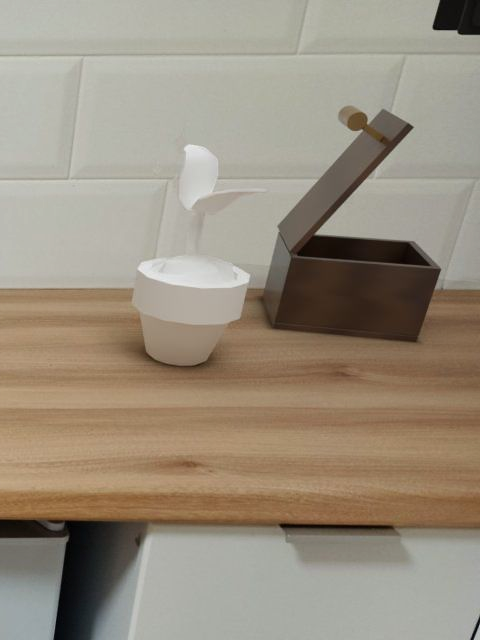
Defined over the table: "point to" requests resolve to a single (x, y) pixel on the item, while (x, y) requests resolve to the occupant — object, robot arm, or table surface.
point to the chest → (351, 287)
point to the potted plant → (191, 273)
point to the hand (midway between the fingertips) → (460, 32)
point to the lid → (343, 173)
